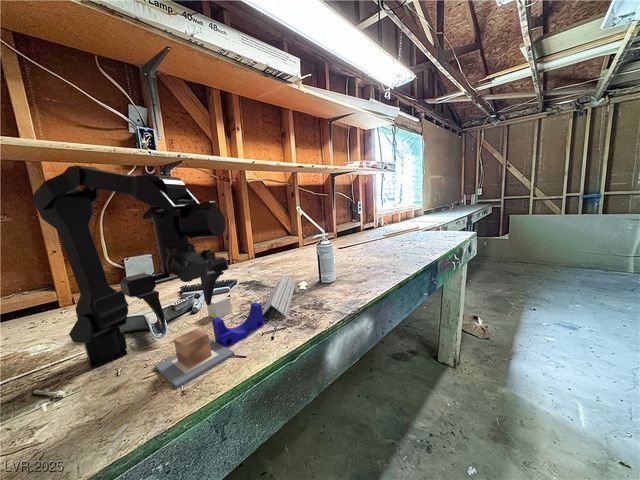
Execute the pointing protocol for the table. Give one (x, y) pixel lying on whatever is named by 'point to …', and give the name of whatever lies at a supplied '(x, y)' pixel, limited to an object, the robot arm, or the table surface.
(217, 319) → the blue cradle bracket
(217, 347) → the grey base plate
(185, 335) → the terracotta block
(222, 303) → the cream block
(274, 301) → the corner bead
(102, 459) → the table surface
